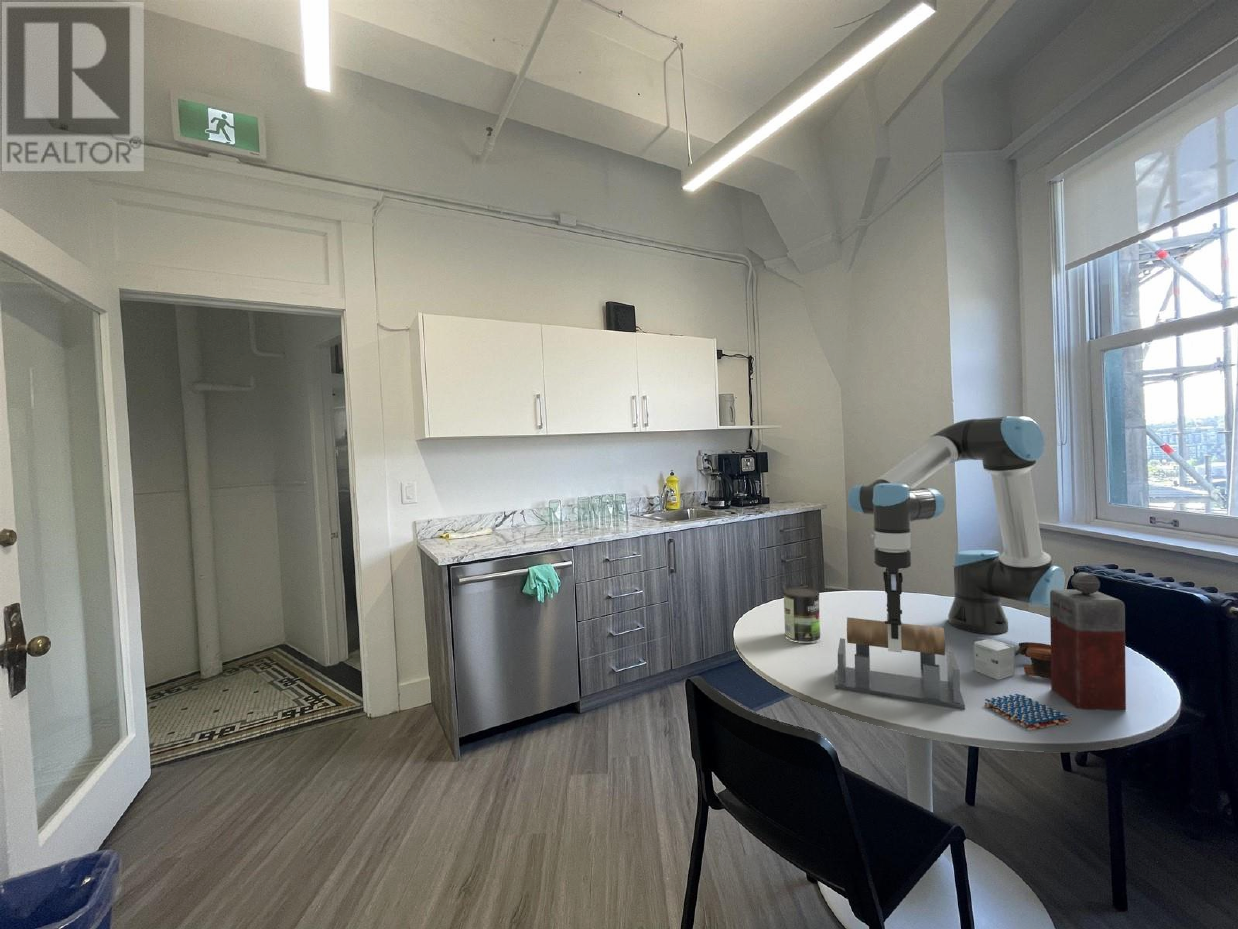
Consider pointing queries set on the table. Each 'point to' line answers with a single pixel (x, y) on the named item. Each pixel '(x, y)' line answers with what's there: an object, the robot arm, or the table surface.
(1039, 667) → the orange brown curved figurine
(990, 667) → the skincare box
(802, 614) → the coffee can
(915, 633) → the tan cylinder
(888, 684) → the bracket
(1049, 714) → the woven mat
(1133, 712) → the table surface
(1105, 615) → the red grey decanter
